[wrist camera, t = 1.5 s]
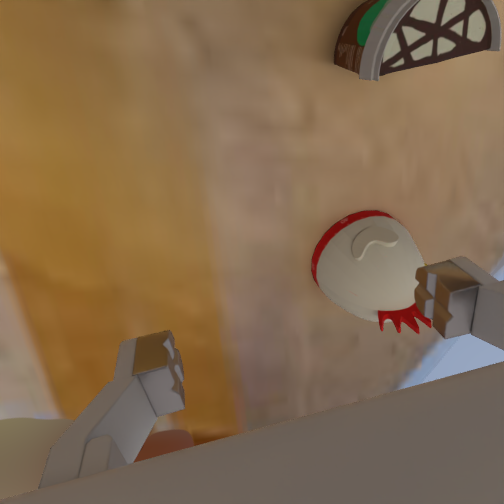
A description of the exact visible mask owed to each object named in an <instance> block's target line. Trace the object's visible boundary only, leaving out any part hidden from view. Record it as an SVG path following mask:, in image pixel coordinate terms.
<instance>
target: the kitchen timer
mask: <svg viewBox="0 0 504 504" xmlns="http://www.w3.org/2000/svg"><path fill="white" fill-rule="evenodd" d="M423 266H427V264H425V263H424V261H423V258H422V256H421V254H420V252H419V250H418V248H417V247H416V245H415V243H414V241H413V239H412V237H411V235H410V234H409V232H408V231H407V230H406V228H405V227H404V226H403V225H401V224H400V223H399V222H398V221H396V220H395V219H394V218H392V217H391V216H390V215H389V214H387V213H383V212H380V211H377V210H375V211H361V212H358V213H355V214H352V215H349V216H347V217H346V218H344V219H342V220H340V221H339V222H337V223H336V224H335V225H334V226H332V227H331V228H330V229H329V230H328V231H327V232H326V233H325V234H324V236H323V237H322V239H321V240H320V242H319V243H318V245H317V246H316V249H315V252H314V254H313V257H312V274H313V277H314V280H315V282H316V283H317V285H318V286H319V288H320V289H321V290H322V291H323V292H324V294H325V295H326V296H327V297H328V298H329V299H330V300H331V301H332V302H334V303H335V304H337V305H338V306H340V307H341V308H343V309H344V310H346V311H348V312H350V313H352V314H353V315H355V316H357V317H360V318H362V319H365V320H369V321H376V322H379V325H380V329H381V331H383V324H384V322H393V323H394V325H395V327H396V330H397V332H398V333H400V332H401V322H404V323H405V324H407V325H408V326H409V327H410V328H411V329H413V330H414V331H415V332H416V333H418V334H419V326H418V324H417V322H416V320H415V319H414V317H416V318H418V319H419V320H421V321H422V322H423V323H424V324H426V325H427V326H428V327H430V328H431V320H430V319H429V318H427V317H424V316H423V315H422V313H421V312H420V311H419V309H418V308H417V306H416V302H415V299H414V289H415V288H416V287H417V285H418V284H419V282H418V281H417V280H416V279H415V274H416V270H417V268H419V267H423Z"/></svg>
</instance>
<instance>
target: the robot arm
mask: <svg viewBox="0 0 504 504" xmlns="http://www.w3.org/2000/svg"><path fill="white" fill-rule="evenodd" d="M415 279H416V280H417V281H418V282H419V284H418V285H417V287H416V288H415V289H414V299H415V302H416V306H417V308H418V309H419V311H420V312H421V313H422V315H423V316H424V317H427V318H429V319H432V320H433V325H432V326H433V327H434V328H435V329H436V330H437V331H438V332H439V333H440V334H441V335H442V336H443V337H444V339H449V338H453V337H457V336H461V335H465V334H469V333H471V335H473V336H475V337H477V338H479V339H482V340H484V341H486V342H488V343H490V344H492V345H494V346H496V347H498V348H500V349H502V350H504V280H503V281H498V280H497V279H495V278H494V277H492V276H491V275H490V274H488V273H487V272H486V271H484V270H483V269H481V268H480V267H479V266H477V265H476V264H475V263H473V262H472V261H470V260H469V259H468V258H466V257H463V256H459V257H456V258H452V259H449V260H446V261H443V262H439V263H435V264H431V265H427V266H423V267H419V268H417V270H416V274H415ZM183 380H184V371H183V365H182V360H181V356H180V353H179V351H178V349H176V348H175V343H174V337H173V335H172V332H171V331H170V330H167V331H163V332H159V333H154V334H150V335H145V336H141V337H138V338H133V339H129V340H125V341H122V342H121V344H120V346H119V352H118V357H117V363H116V368H115V374H114V379H113V381H111V382H108V383H107V385H106V386H105V387H104V388H103V389H102V390H101V391H100V393H99V394H98V395H97V396H96V397H95V398H94V399H93V400H92V402H91V403H90V404H89V405H88V406H87V407H86V408H85V410H84V411H83V412H82V413H81V414H80V415H79V416H78V418H77V419H76V420H75V421H74V422H73V423H72V425H71V426H70V427H69V428H68V429H67V430H66V431H65V432H64V434H63V435H62V436H61V437H60V438H59V439H58V440H57V442H56V443H55V444H54V445H53V446H52V447H51V448H50V452H49V455H48V458H47V461H46V465H45V468H44V471H43V474H42V478H41V481H40V484H39V487H38V489H37V490H34V491H30V492H26V493H23V494H19V495H15V496H12V497H8V498H5V499H1V500H0V504H504V361H503V362H500V363H496V364H492V365H489V366H485V367H482V368H478V369H475V370H471V371H467V372H464V373H460V374H456V375H452V376H449V377H445V378H441V379H438V380H434V381H430V382H427V383H423V384H419V385H416V386H412V387H408V388H405V389H401V390H397V391H394V392H390V393H386V394H383V395H379V396H375V397H372V398H368V399H365V400H361V401H357V402H354V403H350V404H346V405H343V406H339V407H336V408H332V409H328V410H325V411H321V412H317V413H314V414H310V415H307V416H303V417H299V418H296V419H292V420H288V421H285V422H281V423H277V424H274V425H270V426H267V427H263V428H259V429H256V430H252V431H248V432H245V433H241V434H237V435H234V436H230V437H227V438H223V439H219V440H216V441H212V442H208V443H205V444H201V445H197V446H194V447H190V448H187V449H183V450H179V451H176V452H172V453H169V454H165V455H161V456H158V457H154V458H150V459H147V460H143V461H140V462H136V463H133V462H134V460H135V458H136V456H137V455H138V453H139V451H140V449H141V447H142V445H143V444H144V442H145V440H146V438H147V436H148V435H149V433H150V431H151V429H152V427H153V426H154V424H155V422H156V420H157V417H159V416H162V415H166V414H169V413H172V412H176V411H179V410H182V409H185V398H184V389H183V386H182V381H183Z"/></svg>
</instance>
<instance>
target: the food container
mask: <svg viewBox="0 0 504 504" xmlns="http://www.w3.org/2000/svg"><path fill="white" fill-rule="evenodd" d="M500 46H501V23H500V17H499V14H498V11H497V8H496V6H495V4H494V2H493V1H492V0H368V1H366V2H364V3H363V4H362V5H360V6H359V7H358V8H357V9H356V10H355V11H354V12H353V13H352V14H351V15H350V16H349V18H348V19H347V20H346V22H345V24H344V26H343V27H342V29H341V32H340V34H339V37H338V40H337V43H336V48H335V54H334V64H335V65H338V66H340V67H343V68H345V69H348V70H350V71H353V72H355V73H358V74H359V79H364V80H376V81H379V76H383V75H385V74H388V73H392V72H396V71H401V70H405V69H409V68H414V67H419V66H423V65H428V64H433V63H438V62H441V61H444V60H448V59H451V58H455V57H459V56H463V55H467V54H471V53H475V52H479V51H483V50H489V51H500Z"/></svg>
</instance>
